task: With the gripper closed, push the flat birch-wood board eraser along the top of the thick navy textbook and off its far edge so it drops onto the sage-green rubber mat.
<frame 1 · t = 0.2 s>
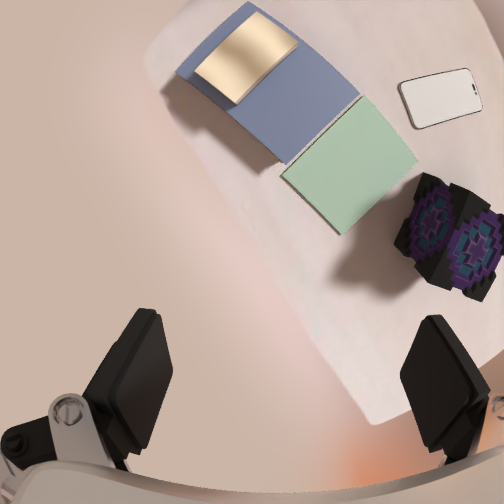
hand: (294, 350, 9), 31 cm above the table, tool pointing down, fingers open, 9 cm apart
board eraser: (247, 57, 26), point 5 cm above the table, touching textbook
textbook: (267, 81, 32), on the table
mat: (354, 165, 35), on the table
smartphone: (441, 96, 30), on the table
energy cube: (436, 221, 38), on the table
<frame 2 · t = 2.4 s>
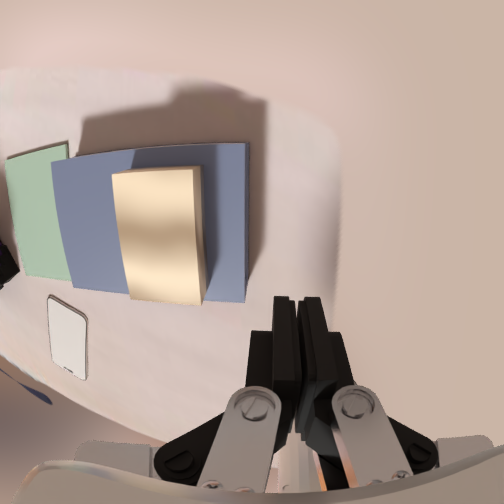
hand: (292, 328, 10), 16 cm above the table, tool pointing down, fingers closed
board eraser: (162, 235, 21), point 5 cm above the table, touching textbook
textbook: (154, 214, 26), on the table
mat: (40, 217, 27), on the table
smartphone: (70, 338, 35), on the table
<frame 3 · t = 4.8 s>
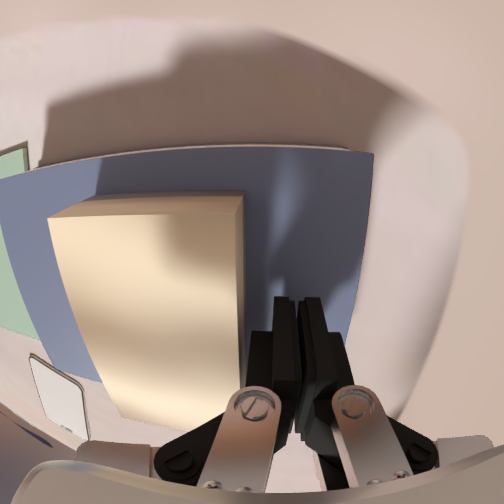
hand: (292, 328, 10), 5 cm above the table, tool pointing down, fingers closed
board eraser: (165, 330, 10), point 6 cm above the table, touching gripper
textbook: (170, 266, 16), on the table
mat: (3, 257, 17), on the table
smartphone: (64, 399, 25), on the table
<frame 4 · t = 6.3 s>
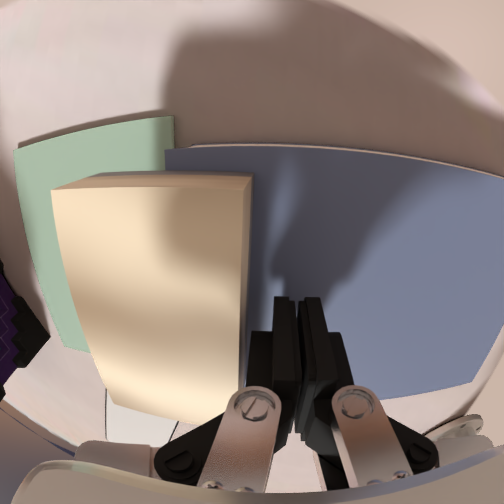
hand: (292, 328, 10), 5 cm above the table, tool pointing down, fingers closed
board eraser: (164, 314, 10), point 5 cm above the table, touching gripper, textbook
textbook: (364, 270, 15), on the table
mat: (95, 261, 16), on the table
smartphone: (139, 421, 24), on the table
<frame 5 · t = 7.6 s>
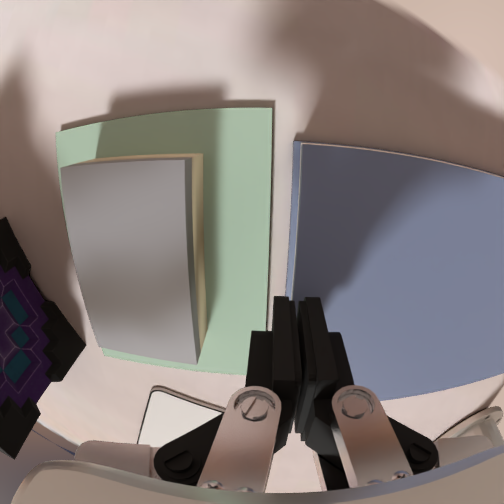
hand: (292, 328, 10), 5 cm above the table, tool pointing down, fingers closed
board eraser: (139, 261, 13), point 2 cm above the table, tilted 180°, touching mat
textbook: (433, 271, 14), on the table
mat: (159, 263, 15), on the table
smartphone: (178, 429, 24), on the table
energy cube: (16, 302, 19), on the table
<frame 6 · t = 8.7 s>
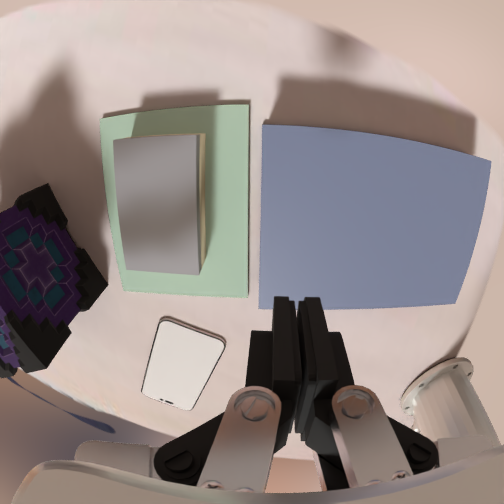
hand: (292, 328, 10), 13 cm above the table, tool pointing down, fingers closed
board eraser: (161, 203, 20), point 2 cm above the table, tilted 180°, touching mat
textbook: (371, 213, 22), on the table
mat: (173, 208, 22), on the table
smartphone: (179, 366, 31), on the table
energy cube: (47, 256, 25), on the table
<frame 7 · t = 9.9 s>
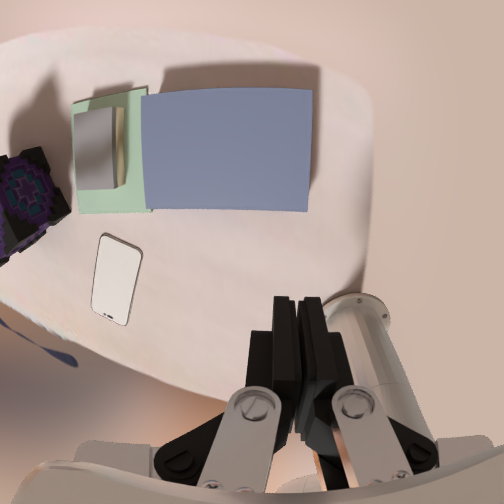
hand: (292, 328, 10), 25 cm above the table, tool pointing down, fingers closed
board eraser: (98, 148, 30), point 2 cm above the table, tilted 180°, touching mat
textbook: (227, 146, 31), on the table
mat: (108, 154, 32), on the table
smartphone: (116, 280, 41), on the table
energy cube: (36, 197, 35), on the table
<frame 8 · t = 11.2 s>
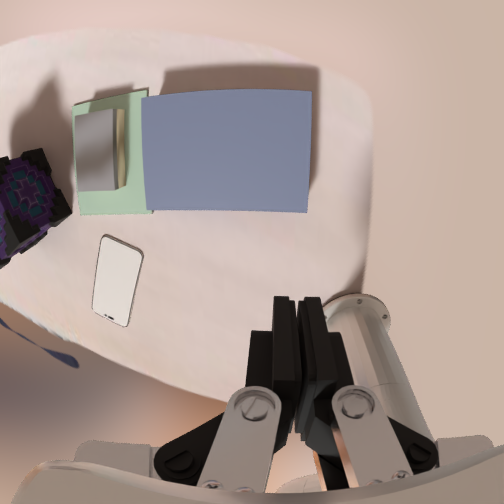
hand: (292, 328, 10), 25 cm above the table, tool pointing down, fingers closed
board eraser: (99, 150, 30), point 2 cm above the table, tilted 180°, touching mat
textbook: (227, 148, 32), on the table
mat: (108, 156, 32), on the table
smartphone: (117, 281, 41), on the table
energy cube: (37, 198, 36), on the table
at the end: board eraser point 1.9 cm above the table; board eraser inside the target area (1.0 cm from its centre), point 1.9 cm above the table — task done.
